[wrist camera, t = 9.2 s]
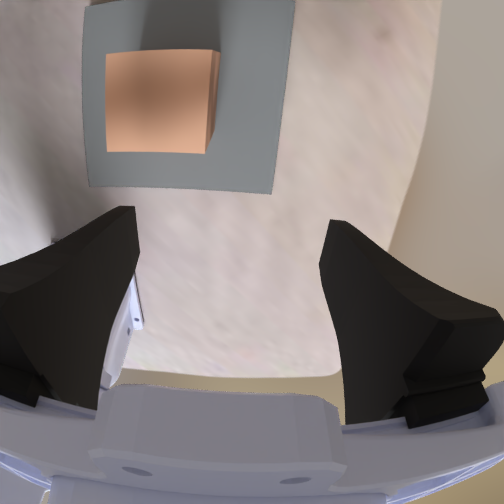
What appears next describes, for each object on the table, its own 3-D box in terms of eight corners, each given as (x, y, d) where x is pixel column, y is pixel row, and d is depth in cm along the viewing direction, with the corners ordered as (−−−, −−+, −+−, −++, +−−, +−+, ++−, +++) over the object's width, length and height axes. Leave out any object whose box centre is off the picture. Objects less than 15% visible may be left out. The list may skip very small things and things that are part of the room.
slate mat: (270, 189, 22) (271, 194, 21) (93, 182, 21) (89, 186, 20) (293, 3, 14) (295, 0, 14) (90, 8, 13) (85, 6, 13)
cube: (214, 130, 18) (204, 153, 14) (137, 128, 18) (107, 151, 14) (220, 52, 16) (212, 49, 11) (139, 53, 15) (105, 53, 11)
